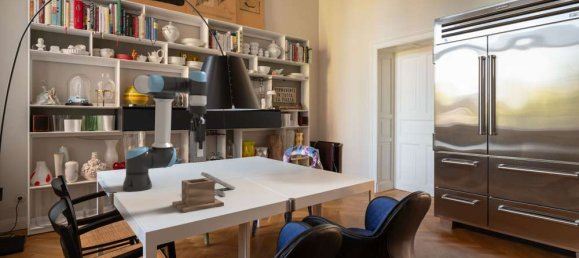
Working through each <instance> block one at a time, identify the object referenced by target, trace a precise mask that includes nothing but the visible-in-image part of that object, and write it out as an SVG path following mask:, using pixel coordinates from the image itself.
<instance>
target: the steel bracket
mask: <svg viewBox="0 0 579 258" xmlns="http://www.w3.org/2000/svg"><path fill="white" fill-rule="evenodd" d="M196 141H198V138H197V131H191V130H190V131H189V162H190V163H204V162H205V163H206V162H207V137H206V138H205V141H204V142H203V156H202V157H197V142H196Z"/></svg>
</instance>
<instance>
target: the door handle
mask: <svg viewBox="0 0 579 258" xmlns="http://www.w3.org/2000/svg"><path fill="white" fill-rule="evenodd" d="M200 175H201V176H203V178H208V179H210V180H213V181H215V185H216V184H218V185H220V186H223V187H225V188H226V189H230V190H233V191H234V190H235V189H236V186H233V185H232V184H230V183H227V181H226V182H225V181H224V180H222V179H219V178H218V177H215V176H214V175H212V174H209V173H208V172H203V171H202V172H201V173H200ZM215 195H218V196H221V197H224V198H225V197H226V195H227V192H226V191H222V190H219V189H216V188H215Z"/></svg>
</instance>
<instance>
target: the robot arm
mask: <svg viewBox="0 0 579 258" xmlns="http://www.w3.org/2000/svg"><path fill="white" fill-rule="evenodd" d="M207 81H208V80H207V73H206V72H205V71H201V70H200V71H199V70H194V71H193V70H192V71H190V72H189V76H188V77H183V76H169V75H159V74H149V73H148V74H140V75H137V76H135V78H134V79H133V80H132V87H133V89H134V90H135V91H136V92H137V93H139V94H141V95H145V96H152V99H153V101H154V102H155V118H154V120H155V121H154V142H153V143H152V144H151V148H149V147H148V146H138V147H132V148H128V149H127V150H126V151H125V178H124V180H123V183H122V191H125V192H140V191H141V192H142V191H145V190H150V189H152V188H153V183H152V180H151V177H150V174H149V170H151V169H152V170H153V169H163V168H164V169H166V168H171V167H173V166H174V165H175V163H176V160H177V150H176V148H175V147H174V144H172V143H171V130H172V129H171V128H172V102H173V101H174V100H175V98H176V97H178V95H179V94H185V95H188V96H189V97H188V100H189V114H190V115H192V118H190V131H197V138H198V141H196V142H197V157H202V156H203V142H204V141H205V138H206V139H207V129H206V125H207V119H206V118H205V119H204V115H206V114H207V106H206V105H207V104H208V103H207Z"/></svg>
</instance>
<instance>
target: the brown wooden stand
mask: <svg viewBox="0 0 579 258" xmlns="http://www.w3.org/2000/svg"><path fill="white" fill-rule="evenodd" d="M215 187H216V184H215V181H213V180H210V179H208V178H206V177H202V178H193V179H183V180H181V200H175V201H172V207H174V208H176V209H177V210H179V212H181V213H183V214H185V213H191V212H196V211H201V210H208V209H214V208H220V207H225V202H223V201H222V200H219V199H218V198H216V194H215V189H216V188H215Z"/></svg>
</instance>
